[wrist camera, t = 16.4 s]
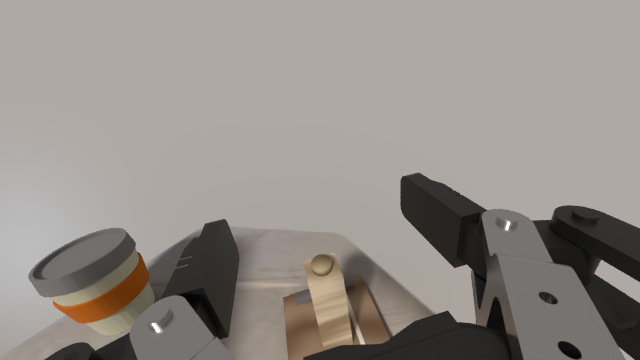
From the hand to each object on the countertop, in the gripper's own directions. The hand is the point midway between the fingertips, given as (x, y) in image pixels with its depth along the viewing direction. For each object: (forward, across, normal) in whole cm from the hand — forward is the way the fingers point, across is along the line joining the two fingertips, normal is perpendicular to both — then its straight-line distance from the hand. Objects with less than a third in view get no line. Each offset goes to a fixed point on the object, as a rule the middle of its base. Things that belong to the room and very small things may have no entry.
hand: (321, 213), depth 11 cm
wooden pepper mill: (+12, 0, -28) cm, 31 cm away
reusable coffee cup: (+28, -36, -30) cm, 55 cm away
